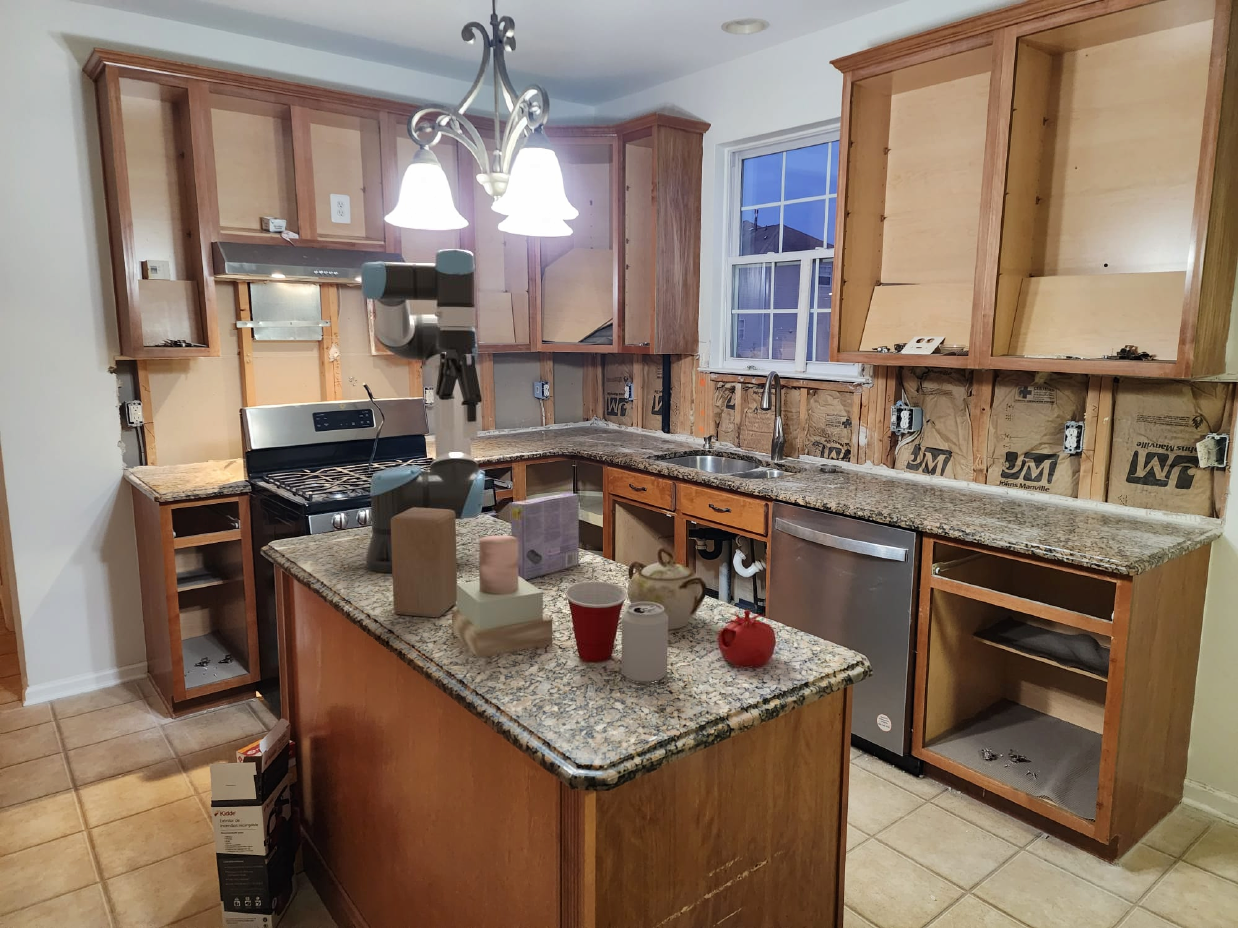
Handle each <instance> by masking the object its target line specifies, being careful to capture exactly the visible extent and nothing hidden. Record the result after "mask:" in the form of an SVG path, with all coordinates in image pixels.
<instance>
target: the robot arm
mask: <svg viewBox="0 0 1238 928" xmlns="http://www.w3.org/2000/svg"><path fill="white" fill-rule="evenodd" d="M360 270H361V272H360V276H361V277H360V278H361V280H360V281H361V282H360V283H361V292H362V296H363V298H364V299H367V300H373V302H374V307H375V313H376V318H375V320H374V323H373V330H374V334H375V338H376V339H377V341H378V343H379V344H380V345H381V346H382V347H383V348H384V349H386V351H388V352H390V353H391V354H393V355H395V356H397V357H399V358H402V359H406V360H411V361H425V365H426V366H425V367H426V368H427V369H428V370H430V371H431V372H432V391H433V395H432V396H433V416H434V419H433V420H434V421H433V422H434V443H435V444H434V445H435V459H434V460H433V461H432V462H431V463H430V465H429V471H427V472H426V471H424V472H423V471H422V469H421V467H420V466H419V465H402V466H395V467H389V468H386V469H383V470H379V471H377V472H375V473H374V474H373V475H372V476H371V478H370V491H369V496H370V501H371V502H370V505H371V508H370V509H371V536H370V537H371V538H370V541H369V545H368V547H367V551H366V555H365V568H366V569H368V570H370V571H372V572H378V573H387V574H388V573H389V574H390V573H391V574H393V573H392V545H391V519H392V517H394V516H396V515H398V514H400V513H402V512H404V511H407V510H409V509H411V508H414V507H416V508H433V509H450V510H453V511H455V517H456V520H460V521H462V520H464V519H465V520H466V519H467V520H468V519H474V518H475V519H476V518H478V517H479V516H480V515H481V513H482V511H483V510H482V508H483V504H484V503H483V501H484V494H485V493H484V492H485V491H484V490H485V479H486V476H485V475H486V472H485V470H482V469H479V462H478V461H476V459H474V458H473V456H472V444H471V441H472V440H471V439H476V438H477V439H478V405H479V403H481V402H483V401H482V399H483V398H482V393H481V389H480V384H479V378H478V372H477V367H476V360H477V359H478V355H479V353H478V344H477V343H478V342H477V335H476V334H477V333H476V328H475V327H476V307H475V306H476V305H475V270H476V267H475V261H474V254H473V253H472V252H471V251H470V250H465V249H452V248H451V249H440V250H438V251H437V252H436V253H435V263H419V262H418V263H417V262H415V263H413V262H393V261H392V262H391V261H390V262H389V261H387V262H386V261H380V260H379V261H376V262H375V261H369V262H364V263H363V264H362V265H361V269H360ZM410 301H436V311H435V312H434V314H429V313H428V314H426V313H424V314H423V313H420V314H419V313H418V314H417V313H411V307H410V306H411V303H410Z"/></svg>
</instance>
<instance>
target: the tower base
mask: <svg viewBox="0 0 1238 928" xmlns="http://www.w3.org/2000/svg"><path fill="white" fill-rule="evenodd" d="M451 626H452V627H451V628H452V633H453V635H455V636H456V637H457V638H458V639H459V640H460V641H461V642H462V644H464V645H465V646H466V648H468V649H469V650H470V651H471V652H472V653H473V654H474V655H475V656H476V657H477V659H482V657H483V658H487V657H488V658H489V657H493V656H497V655H502V654H506V653H508V654H509V653H513V652H516V651H523V650H528V649H532V648H536V647H542V646H546V645H551V644H553V618H552V617H549V616H548V615H547V614H545V613H544V612H543V619H539V620H533V621H528V622H522V623H517V624H512V625H506V626H501V627H495V628H490V629H484V630H479V629H478V628H477V627H476V626H474V625H473V624H472V623H471V622H470V621H469V620H468V619H467V618H466V617H465V616H463V615H462V614H461V613H460V612H459V611H458V610H457V607H455V608H451Z"/></svg>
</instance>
